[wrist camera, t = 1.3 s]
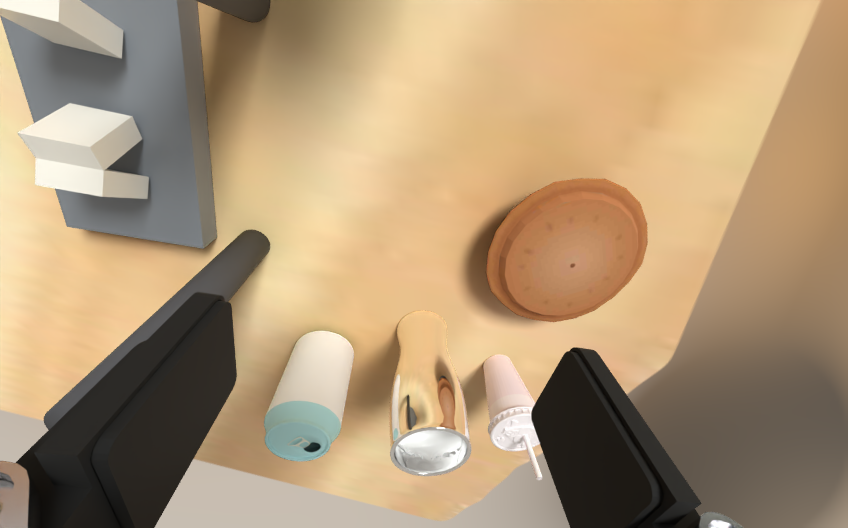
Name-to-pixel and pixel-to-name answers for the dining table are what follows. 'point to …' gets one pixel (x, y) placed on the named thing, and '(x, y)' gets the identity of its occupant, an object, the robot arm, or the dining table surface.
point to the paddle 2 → (90, 180)
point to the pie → (567, 249)
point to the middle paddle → (82, 136)
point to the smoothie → (509, 409)
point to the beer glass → (427, 401)
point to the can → (310, 397)
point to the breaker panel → (135, 116)
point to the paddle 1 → (66, 24)
